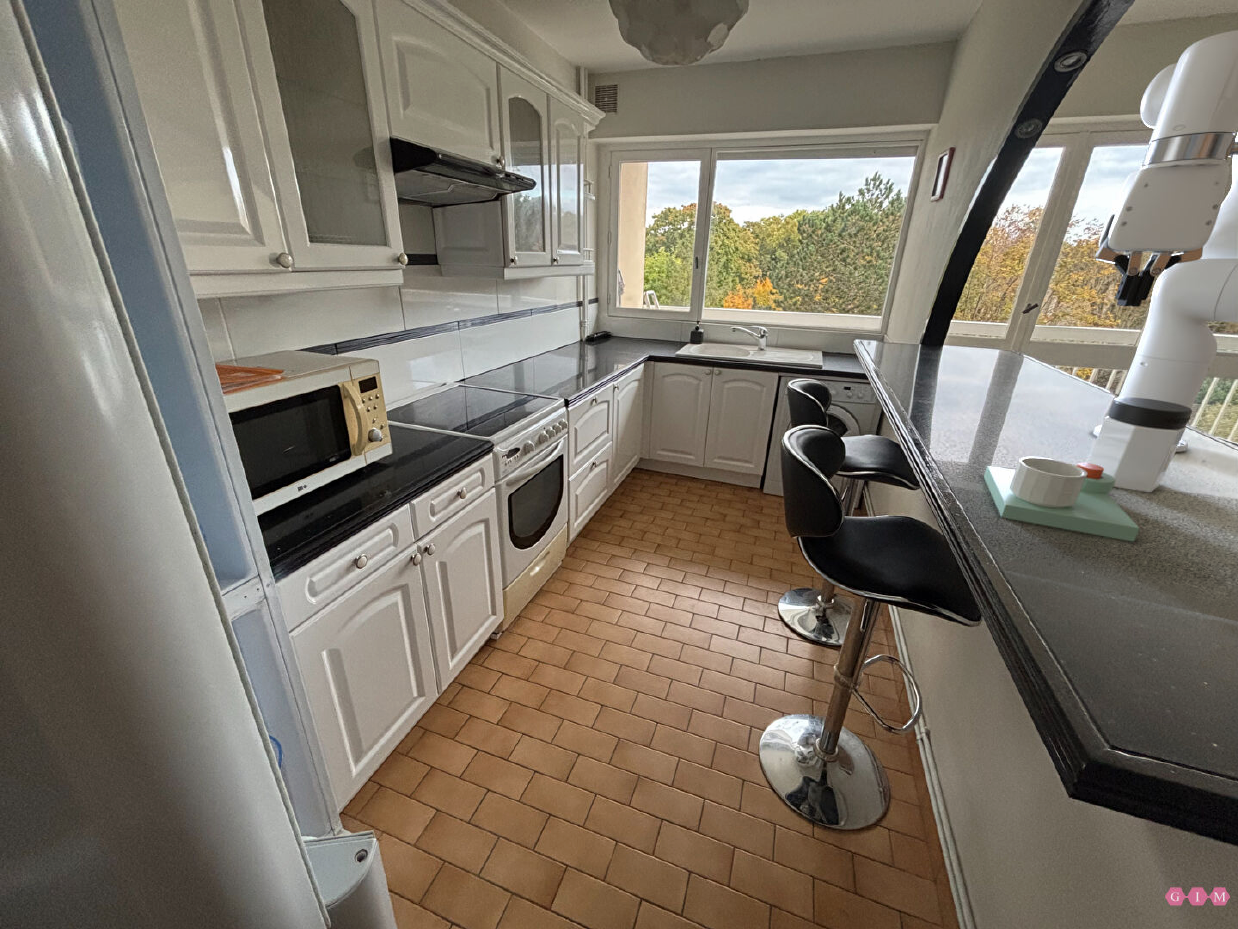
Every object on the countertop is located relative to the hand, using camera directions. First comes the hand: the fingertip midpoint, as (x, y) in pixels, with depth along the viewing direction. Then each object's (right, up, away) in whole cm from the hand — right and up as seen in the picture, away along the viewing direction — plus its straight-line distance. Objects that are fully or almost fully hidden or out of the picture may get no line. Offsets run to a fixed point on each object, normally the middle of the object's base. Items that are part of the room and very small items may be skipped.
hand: (1127, 305), depth 72 cm
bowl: (-17, -27, -5) cm, 32 cm away
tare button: (-7, -24, -1) cm, 25 cm away
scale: (-14, -28, -3) cm, 31 cm away
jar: (+4, -25, +5) cm, 26 cm away
